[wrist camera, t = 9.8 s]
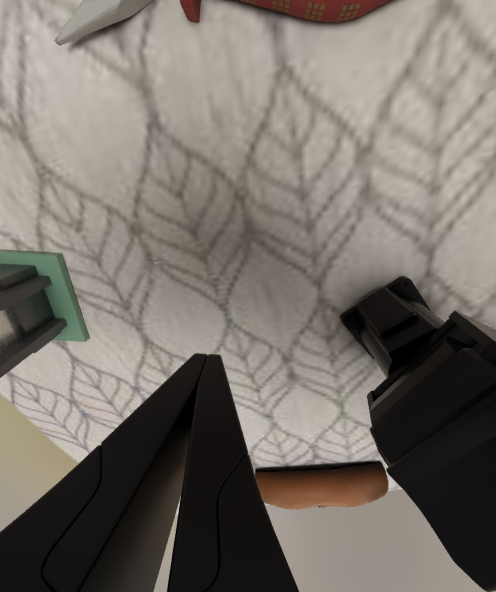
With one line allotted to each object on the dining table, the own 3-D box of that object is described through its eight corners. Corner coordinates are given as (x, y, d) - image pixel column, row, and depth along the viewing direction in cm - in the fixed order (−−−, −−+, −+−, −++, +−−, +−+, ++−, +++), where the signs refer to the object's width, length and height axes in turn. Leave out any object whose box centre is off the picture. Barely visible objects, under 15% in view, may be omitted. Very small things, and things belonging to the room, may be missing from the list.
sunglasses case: (263, 496, 38) (260, 536, 31) (257, 451, 38) (253, 481, 32) (378, 490, 36) (401, 531, 29) (369, 443, 36) (390, 473, 30)
